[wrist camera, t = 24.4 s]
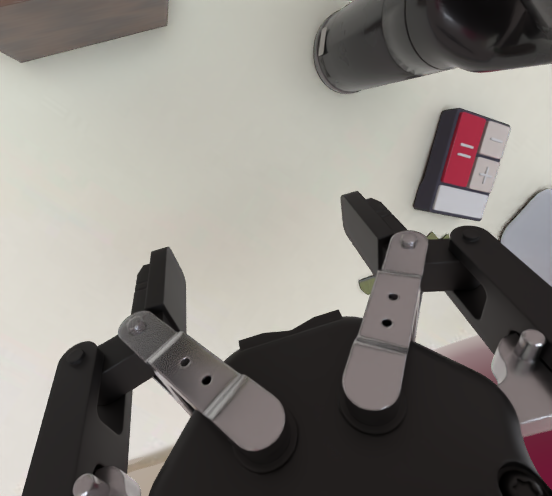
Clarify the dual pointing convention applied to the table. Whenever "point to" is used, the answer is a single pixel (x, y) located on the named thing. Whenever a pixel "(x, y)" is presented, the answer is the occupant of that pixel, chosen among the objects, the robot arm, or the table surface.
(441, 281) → the robot arm
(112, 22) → the shelf
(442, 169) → the calculator
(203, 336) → the table surface
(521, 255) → the plastic bottle
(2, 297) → the table surface
